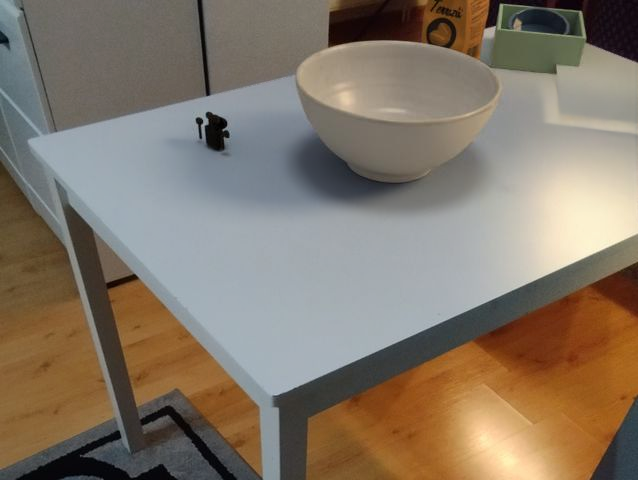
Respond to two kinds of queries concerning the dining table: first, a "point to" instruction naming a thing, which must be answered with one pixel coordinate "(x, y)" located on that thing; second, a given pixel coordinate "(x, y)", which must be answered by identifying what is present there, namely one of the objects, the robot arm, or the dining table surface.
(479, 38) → the coffee package
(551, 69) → the tub
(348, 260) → the dining table surface
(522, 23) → the blue-grey round shallow container
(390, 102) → the decorative bowl
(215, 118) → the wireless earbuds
